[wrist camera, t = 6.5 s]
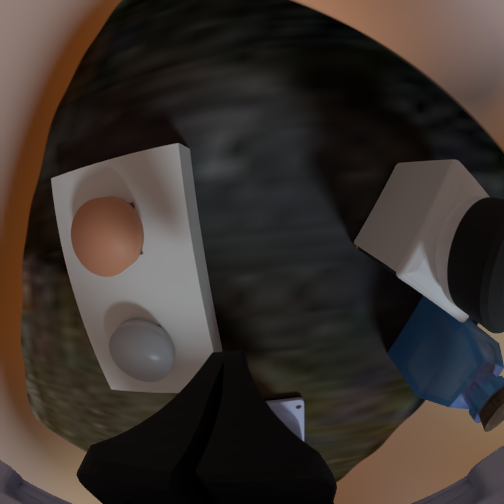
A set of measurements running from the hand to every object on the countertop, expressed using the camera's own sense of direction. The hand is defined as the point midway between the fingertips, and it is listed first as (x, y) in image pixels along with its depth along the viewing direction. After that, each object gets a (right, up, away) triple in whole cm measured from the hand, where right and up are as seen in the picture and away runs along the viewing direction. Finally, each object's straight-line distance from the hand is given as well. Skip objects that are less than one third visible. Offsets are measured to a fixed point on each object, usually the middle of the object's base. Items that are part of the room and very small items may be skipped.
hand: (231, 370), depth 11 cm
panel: (-7, +3, +9) cm, 12 cm away
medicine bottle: (+13, +7, +8) cm, 17 cm away
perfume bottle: (+17, -3, +11) cm, 20 cm away
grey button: (-7, -1, +9) cm, 11 cm away
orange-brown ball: (-8, +7, +7) cm, 12 cm away
